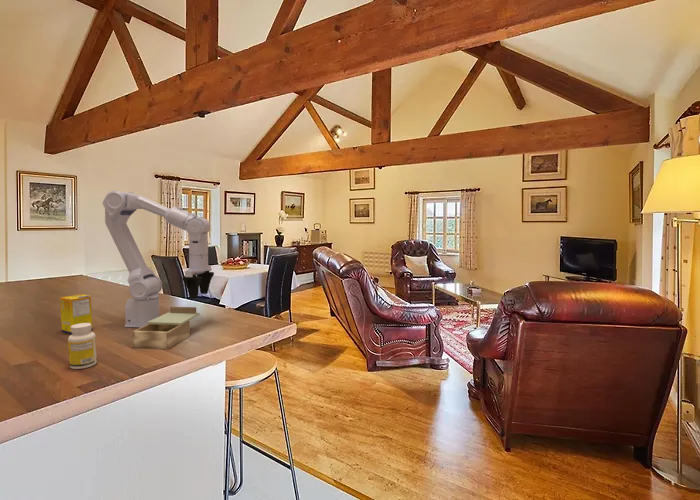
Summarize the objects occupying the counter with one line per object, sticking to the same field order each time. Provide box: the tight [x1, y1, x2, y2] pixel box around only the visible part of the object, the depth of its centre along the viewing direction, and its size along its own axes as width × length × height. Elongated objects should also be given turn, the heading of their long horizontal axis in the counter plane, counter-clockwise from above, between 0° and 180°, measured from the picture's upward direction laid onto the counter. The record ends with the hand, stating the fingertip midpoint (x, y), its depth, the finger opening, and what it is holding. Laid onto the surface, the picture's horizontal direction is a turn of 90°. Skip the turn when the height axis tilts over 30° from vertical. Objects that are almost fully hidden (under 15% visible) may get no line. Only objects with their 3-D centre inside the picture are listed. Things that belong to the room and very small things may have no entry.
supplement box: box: [59, 293, 94, 335], centre depth 119 cm, size 6×6×11 cm
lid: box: [147, 306, 200, 325], centre depth 117 cm, size 10×12×2 cm
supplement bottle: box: [67, 323, 98, 370], centre depth 92 cm, size 5×5×10 cm
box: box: [131, 320, 191, 350], centre depth 111 cm, size 10×12×4 cm
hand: (199, 295), depth 127 cm, fingers open, 7 cm apart
